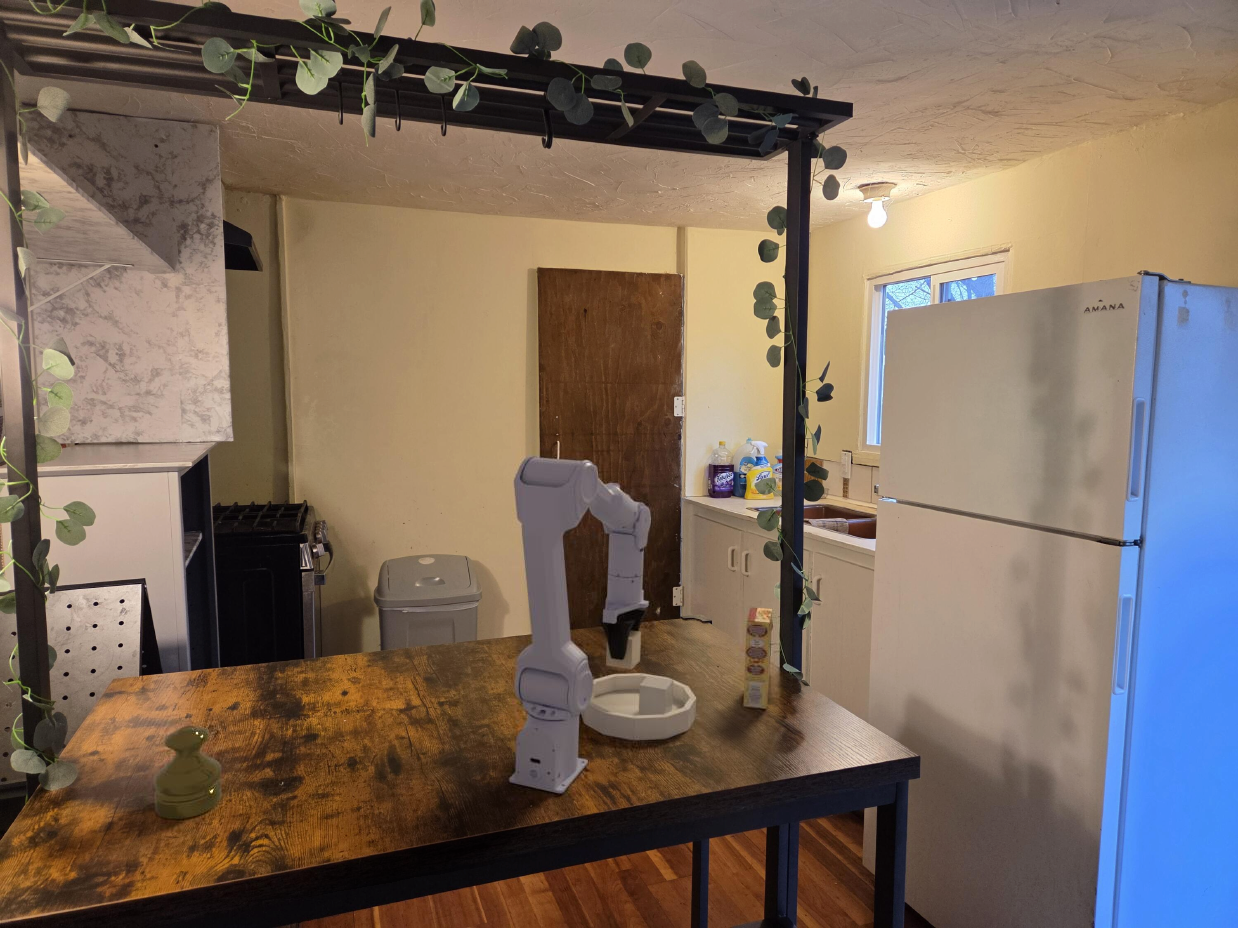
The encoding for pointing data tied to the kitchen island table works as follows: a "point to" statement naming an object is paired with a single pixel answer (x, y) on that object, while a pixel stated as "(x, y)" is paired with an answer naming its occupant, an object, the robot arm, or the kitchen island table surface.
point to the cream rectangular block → (627, 652)
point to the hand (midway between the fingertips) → (622, 653)
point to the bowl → (636, 709)
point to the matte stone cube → (655, 696)
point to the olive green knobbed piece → (187, 777)
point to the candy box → (757, 657)
